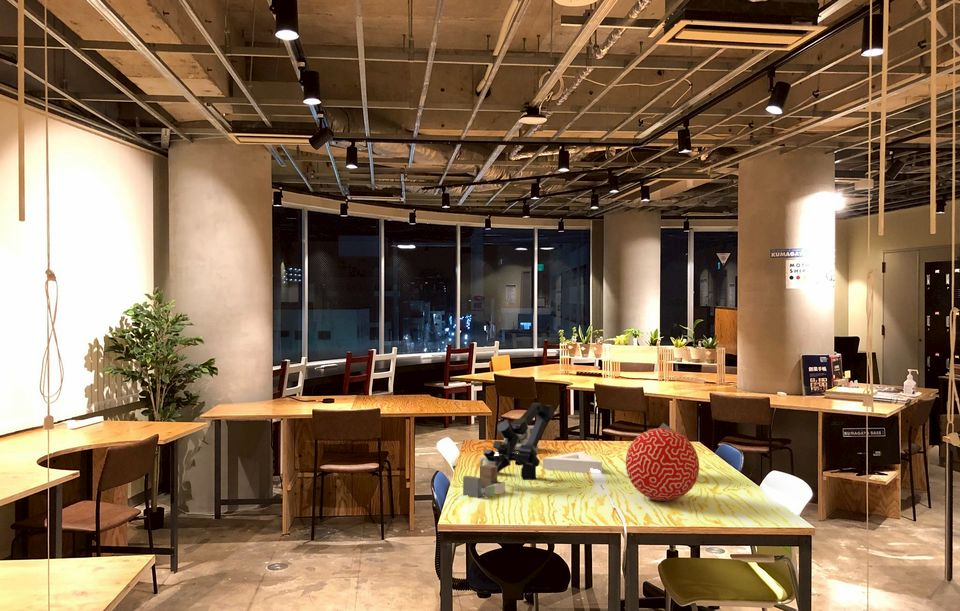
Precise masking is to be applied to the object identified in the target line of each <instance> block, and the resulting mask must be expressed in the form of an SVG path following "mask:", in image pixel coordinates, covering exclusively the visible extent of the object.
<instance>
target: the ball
mask: <svg viewBox="0 0 960 611" xmlns="http://www.w3.org/2000/svg"><path fill="white" fill-rule="evenodd" d="M625 456H626V457H625V470H626V473H627V477H628V478H629V479H630V482H631V484H632V486H633V487H634V488H635V490H637V491H638V492H639V493H640V494H642V495H644V496H645V497H647V498H648V499H650V500H651V499H652V500H655V501H659V502H668V501H674V500H677V499H679V498H682V497H683V496H685V495H686V494H687V493H689V492H690V491H691V490H692V489H693V487H694V485H695V484H696V483H697V480H698V476H699V472H700V461H699V455H698V453H697V451H696V448H695V447H694V445H693V444H692V442H691V441H690V440H689V439H688V438H687V437H685V436H684V435H683V434H681V433H680V432H678V431H675V430H674V429H672V430H670V429H664V428H659V427H657V428H656V427H655V428H651V429H648V430H647V431H644V432H642V433H640V434H639V435H638V436H636V437H635V438H634V440H633V441H632V443H631V444H630V446H629V447H628V449H627V452H626V455H625Z"/></svg>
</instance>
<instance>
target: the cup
mask: <svg viewBox="0 0 960 611" xmlns="http://www.w3.org/2000/svg"><path fill="white" fill-rule="evenodd" d="M483 462H484V464H483ZM478 465H479V467H480V466H483V465H492V466H495V461H494V462H492V461H489V460H488V459H487V458H486V457H485V456H482V457H481V458H480V459H479V464H478ZM498 473H499V474H500V471H499V472H498ZM498 473H497V475H499V474H498Z"/></svg>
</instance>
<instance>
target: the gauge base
mask: <svg viewBox="0 0 960 611" xmlns="http://www.w3.org/2000/svg"><path fill="white" fill-rule="evenodd" d="M500 482H501V483H497V484H494V485H490V486H487V487H485V488H484V487H481V496H482V497H484V498H485V497H488V498H490V497H489V496H491V497H493V496H492V495H494V496H496V495H495V494H497V493H500V494H502V493H501V492H503V493H505V492H506V481H500ZM504 491H505V492H504ZM483 495H485V496H483ZM497 495H498V494H497Z"/></svg>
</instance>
